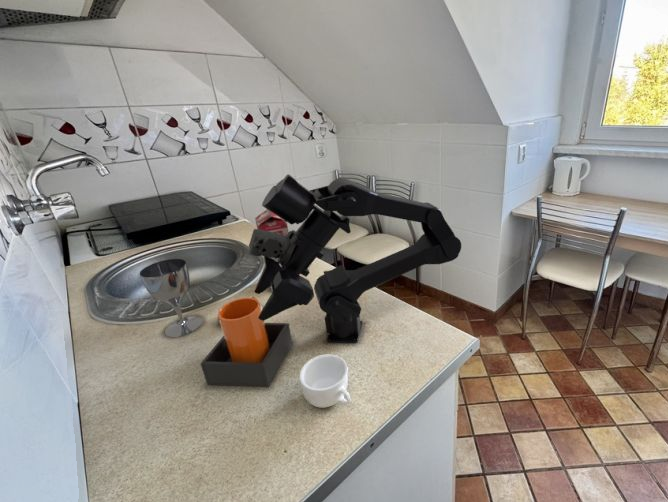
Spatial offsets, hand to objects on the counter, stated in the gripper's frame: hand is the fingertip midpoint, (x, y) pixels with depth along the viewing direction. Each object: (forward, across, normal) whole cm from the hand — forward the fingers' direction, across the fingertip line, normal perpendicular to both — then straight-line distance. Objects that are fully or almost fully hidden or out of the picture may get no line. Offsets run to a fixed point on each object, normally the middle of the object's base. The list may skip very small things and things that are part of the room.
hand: (258, 305), depth 58 cm
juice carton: (+4, -28, +13) cm, 31 cm away
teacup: (+3, +15, +14) cm, 21 cm away
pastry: (+12, -17, +6) cm, 21 cm away
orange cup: (+10, 0, +6) cm, 12 cm away
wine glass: (+20, -19, -3) cm, 28 cm away
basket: (+11, 0, +6) cm, 13 cm away
